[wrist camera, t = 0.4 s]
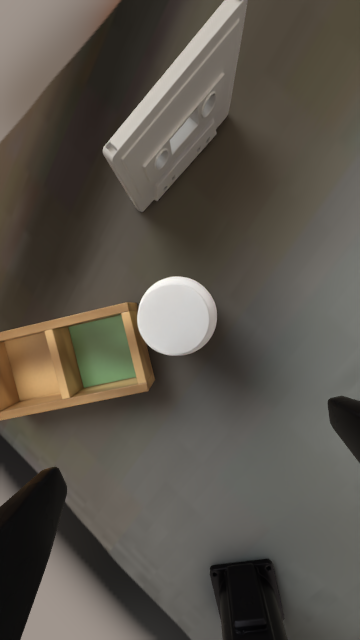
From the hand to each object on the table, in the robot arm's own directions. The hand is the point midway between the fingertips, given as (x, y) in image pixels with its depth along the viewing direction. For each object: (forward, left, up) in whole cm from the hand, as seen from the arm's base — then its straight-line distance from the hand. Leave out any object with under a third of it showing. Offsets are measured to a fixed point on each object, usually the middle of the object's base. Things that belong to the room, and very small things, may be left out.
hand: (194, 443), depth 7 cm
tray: (+2, +12, -14) cm, 19 cm away
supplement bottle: (+4, 0, -15) cm, 15 cm away
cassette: (+18, -3, -15) cm, 23 cm away
